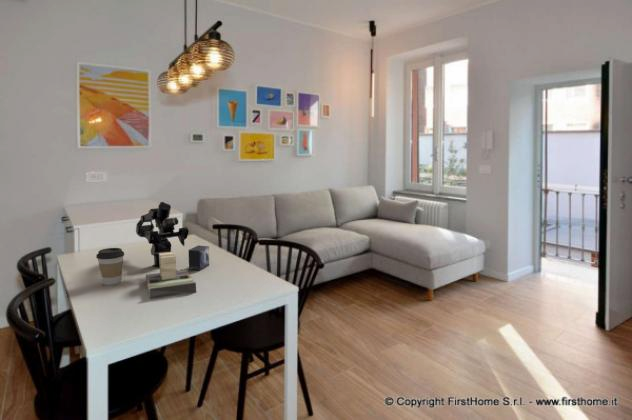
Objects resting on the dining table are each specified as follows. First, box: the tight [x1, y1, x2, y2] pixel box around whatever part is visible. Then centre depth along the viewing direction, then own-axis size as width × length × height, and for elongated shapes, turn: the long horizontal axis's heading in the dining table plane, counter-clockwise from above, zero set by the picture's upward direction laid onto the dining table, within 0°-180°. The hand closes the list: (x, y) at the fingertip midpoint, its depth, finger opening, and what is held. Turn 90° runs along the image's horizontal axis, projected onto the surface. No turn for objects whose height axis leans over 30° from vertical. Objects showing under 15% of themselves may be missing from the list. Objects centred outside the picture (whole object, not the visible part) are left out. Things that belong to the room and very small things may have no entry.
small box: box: [188, 245, 210, 272], centre depth 204 cm, size 11×6×10 cm, turn 168°
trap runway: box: [145, 269, 197, 300], centre depth 176 cm, size 25×18×4 cm
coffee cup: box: [95, 247, 125, 286], centre depth 180 cm, size 11×11×15 cm
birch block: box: [159, 251, 177, 280], centre depth 180 cm, size 9×6×10 cm, turn 26°
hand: (174, 246), depth 192 cm, fingers open, 9 cm apart
